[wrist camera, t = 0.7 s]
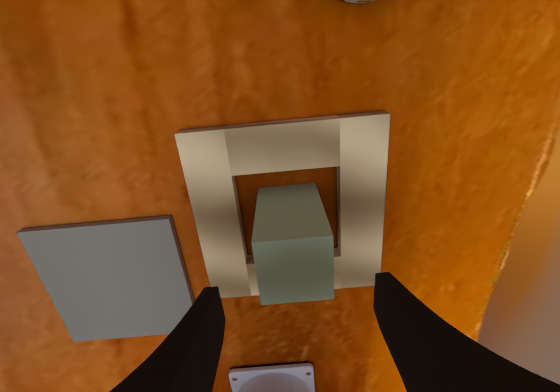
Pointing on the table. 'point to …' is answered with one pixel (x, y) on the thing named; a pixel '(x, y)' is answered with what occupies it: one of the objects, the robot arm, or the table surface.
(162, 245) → the coaster
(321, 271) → the part block
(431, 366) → the robot arm
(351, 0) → the supplement bottle
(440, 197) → the table surface
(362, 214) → the beige square frame
